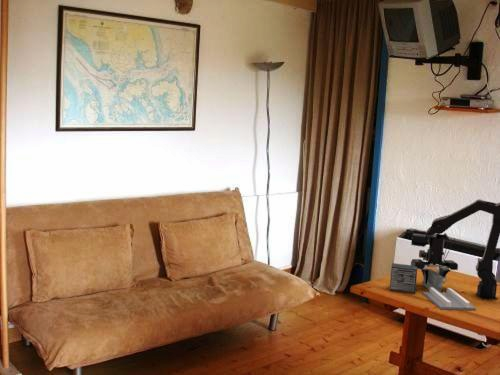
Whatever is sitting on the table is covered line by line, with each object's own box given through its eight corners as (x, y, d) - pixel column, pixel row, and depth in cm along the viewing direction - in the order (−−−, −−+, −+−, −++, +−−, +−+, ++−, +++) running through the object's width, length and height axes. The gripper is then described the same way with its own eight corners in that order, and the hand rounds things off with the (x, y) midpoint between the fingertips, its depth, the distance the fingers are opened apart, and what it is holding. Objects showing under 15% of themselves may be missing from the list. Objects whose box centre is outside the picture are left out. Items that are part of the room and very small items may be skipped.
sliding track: (455, 295, 253) (456, 288, 253) (475, 310, 236) (476, 302, 235) (422, 294, 252) (423, 287, 251) (440, 309, 234) (441, 301, 234)
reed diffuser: (432, 275, 280) (436, 233, 277) (447, 276, 280) (451, 234, 278) (439, 282, 270) (443, 238, 267) (454, 283, 270) (459, 239, 267)
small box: (415, 289, 258) (418, 265, 256) (415, 294, 252) (417, 269, 250) (389, 286, 261) (392, 262, 259) (389, 290, 254) (391, 266, 253)
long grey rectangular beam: (430, 284, 267) (431, 269, 266) (441, 293, 255) (443, 277, 254) (422, 284, 266) (424, 268, 265) (433, 293, 254) (435, 277, 253)
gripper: (449, 244, 267) (445, 278, 269) (408, 242, 265) (404, 277, 267) (460, 251, 256) (456, 286, 258) (417, 249, 254) (413, 285, 256)
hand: (432, 283), depth 260 cm, fingers open, 5 cm apart
